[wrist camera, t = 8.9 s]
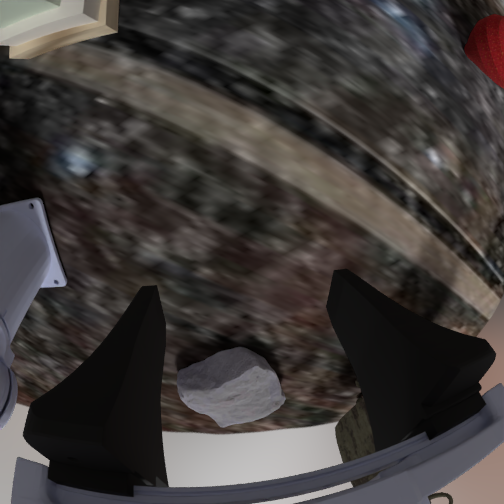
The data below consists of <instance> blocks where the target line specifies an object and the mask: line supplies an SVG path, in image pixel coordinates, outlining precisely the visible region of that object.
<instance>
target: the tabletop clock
mask: <svg viewBox="0 0 504 504" xmlns="http://www.w3.org/2000/svg"><path fill="white" fill-rule="evenodd" d="M355 384H356V386H357V387H359V388H360V385H359V382H358V379H356V381H355ZM335 431H336V439H337V444H338V447H339V451H340V454H341V457H342V461H343V463H346V462H349V461H352V460H355V459H358V458H361V457H364V456H367V455H370V454H373V453H375V446H374V440H373V435H372V429H371V425H370V421H369V416H368V412H367V408H366V405H365V401H364V398H362V397H361V398H359V399H358V400H357V401H356V405H355V406H354V407H353V408H352V409H351V410H350V411H349V412H347V413H346V414H345V415H344V416H343V417H342V418H341V419H340V421H339V422H338V424H337V425H336V427H335ZM390 467H391V466H390ZM388 468H389V467H388ZM386 469H387V468H386ZM383 470H385V469H383ZM383 470H381V471H383ZM381 471H378V472H375V473H373V474H370V475H367V476H365V477H362V478H359V479H356V480H353V481H351V483H352V485H353V487H356V486H359V485H362V484H365V483H367V482H368V481H370V480H372V479H373V478H374V477H376V476H377V475H378V473H379V472H381ZM437 497H447V498H448V499H449V504H453V499H452V497H451V496H450V495H449V494H447V493H443V492H441V493H435V494H432V495H429V496H428V499H429V501H430V500H431V499H433V498H437ZM430 504H431V501H430Z"/></svg>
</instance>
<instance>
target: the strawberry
mask: <svg viewBox="0 0 504 504" xmlns="http://www.w3.org/2000/svg"><path fill="white" fill-rule="evenodd" d="M464 50H465V54H466V55H467V57H468V58H469V59H470V60H471V61H473V62H474V63H475V64H476V65H477V66H478V67H479V68H480V70H481V71H483V72H484V73H485V74H486V75H487V76H488V77H489V78H491V79H492V80H493V81H494V82H495V83H496V84H497V85H499V86H500V87H502V88H504V16H500V15H496V14H493V15H490V16H487V17H485V18H483V19H481V20H479V21H478V22H477V23H476V25H475V27H474V28H473V30H472V32H471V33H470V35H469V38H468V41H467V44H466V45H465V47H464Z"/></svg>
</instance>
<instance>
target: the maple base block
mask: <svg viewBox="0 0 504 504" xmlns="http://www.w3.org/2000/svg"><path fill="white" fill-rule="evenodd" d="M118 11H119V0H101V3H100V11H99V20H98V22H95V23H90V24H86V25H81V26H77V27H73V28H70V29H66V30H62V31H59V32H55V33H52V34H49V35H46V36H43V37H40V38H37V39H34V40H31V41H28V42H26V43H23V44H21V45H18V46H10V55H9V58H13V59H30V58H33V57H36V56H38V55H41V54H43V53H46V52H49V51H52V50H55V49H58V48H61V47H64V46H67V45H70V44H73V43H77V42H80V41H84V40H87V39H91V38H95V37H99V36H103V35H108V34H112V33H117V32H118Z"/></svg>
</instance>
